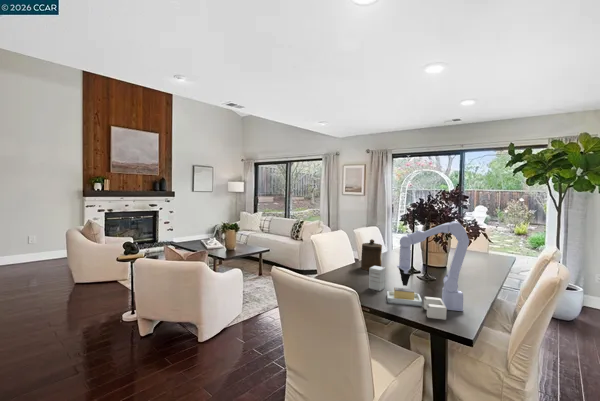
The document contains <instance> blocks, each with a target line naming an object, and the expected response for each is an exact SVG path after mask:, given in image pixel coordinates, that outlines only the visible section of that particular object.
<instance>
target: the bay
mask: <svg viewBox="0 0 600 401" xmlns="http://www.w3.org/2000/svg"><path fill="white" fill-rule="evenodd" d="M422 307H423V309H424V310H426V316H427V318H429V319H434V320H436V319H437V320H444V321H446V320H447V311H448V310H447V308H446V306H445V305H444V303H443V301H442V297H432V296H423V303H422Z"/></svg>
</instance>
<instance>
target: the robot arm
mask: <svg viewBox="0 0 600 401" xmlns="http://www.w3.org/2000/svg"><path fill="white" fill-rule="evenodd" d="M441 233H444V234H451V235H452V236H453V237H454V238H455V239H456V241H457V245H456V246H455V250H454V254H453V256H452V260H451V263H450V267H449V269H448V271H447V274H445V276H444V277H443V279H442V282H443V287H442V289H441V290H442V291H441V299H442V301H443V303H444V305H445V306H446V308H447V311H448V310H449V311H456V312H457V311H459V312H464V294H463V291H461V290H459V289H458V288H459V284H458V282H459V276H460V272H461V268H462V266H463V263H464V259H465V256H466V253H467V250H468V248H469V244H470V238H469V236H468V234H467V231H466V228H465V227H464V225H462V224H461V222H459V221H456V220H453V221H450V222H445V223H442V224H439V225H437V226H434V227H432V228H430V229H427V230H425V231H424V230H419V229H417V230H415V232H412V233H407V234H406V235H402V236H401V238H400V239H399V245H400V246H399V260H398V261H399V264H397V265H396V268H398V270H399V275H400V279H401V280H400V281H401V282H402V286H405V287H407V286H408V283H409V279H410V277H411V276H412V273H411V272H409V271H410V270H411V263H412V262H411V260H412V249H411V245H413V246H415V245H416V244H420V243H422V242H425V241H426V239H427V238H428V237H431V236H435V235H438V234H441Z"/></svg>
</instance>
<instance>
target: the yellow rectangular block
mask: <svg viewBox="0 0 600 401" xmlns="http://www.w3.org/2000/svg"><path fill="white" fill-rule="evenodd" d="M393 291H394V298H398V299H408V300H414V293H415V290H414V289H413V288H406V287H405V288H404V287H394V289H393Z"/></svg>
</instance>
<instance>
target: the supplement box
mask: <svg viewBox="0 0 600 401" xmlns="http://www.w3.org/2000/svg"><path fill="white" fill-rule="evenodd" d="M368 273H369V274H368V275H369V276H368V277H369V278H368V288H369V289H370V290H375V291H379V292H380V291H382V290H383V289H385V288H386V267H385V266H381V267H379V266H373V267H370V268H369V272H368Z"/></svg>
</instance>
